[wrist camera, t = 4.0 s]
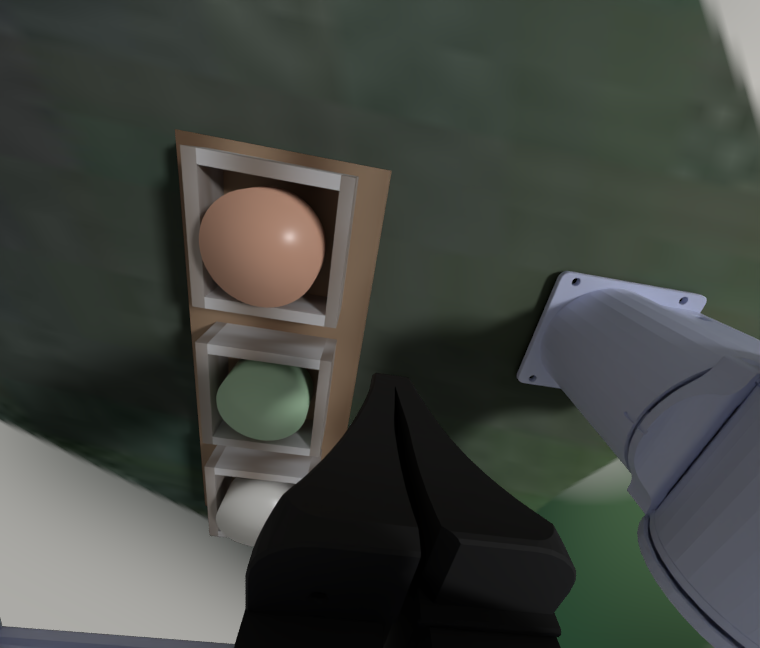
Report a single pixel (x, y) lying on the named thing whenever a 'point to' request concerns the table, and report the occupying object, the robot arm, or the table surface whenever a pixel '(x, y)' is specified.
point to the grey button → (248, 508)
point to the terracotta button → (262, 245)
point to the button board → (285, 323)
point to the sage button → (265, 399)
